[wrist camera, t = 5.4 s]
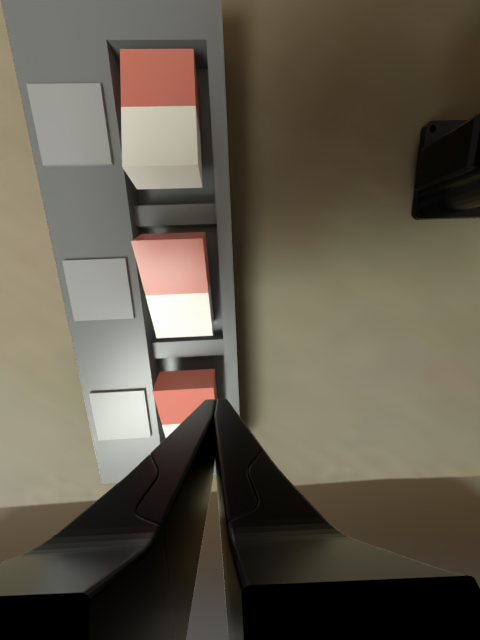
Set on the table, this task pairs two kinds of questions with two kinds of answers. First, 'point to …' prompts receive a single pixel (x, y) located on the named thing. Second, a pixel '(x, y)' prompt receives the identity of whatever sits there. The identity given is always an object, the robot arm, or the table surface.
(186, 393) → the rocker
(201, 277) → the block
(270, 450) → the table surface
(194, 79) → the rocker
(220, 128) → the power board
